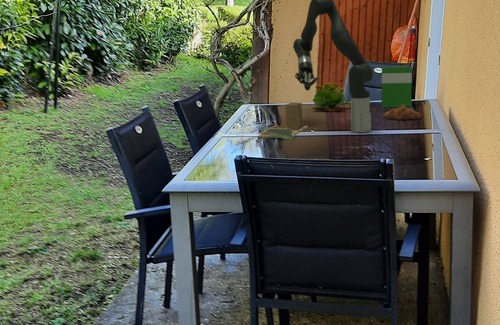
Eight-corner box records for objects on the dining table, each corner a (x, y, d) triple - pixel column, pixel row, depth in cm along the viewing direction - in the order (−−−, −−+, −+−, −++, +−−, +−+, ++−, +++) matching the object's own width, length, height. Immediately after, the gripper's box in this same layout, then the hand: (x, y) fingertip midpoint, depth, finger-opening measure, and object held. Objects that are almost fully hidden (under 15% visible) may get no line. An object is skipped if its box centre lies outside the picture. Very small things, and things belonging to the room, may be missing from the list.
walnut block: (291, 126, 321) (291, 102, 318) (302, 127, 319) (301, 102, 316) (286, 129, 314) (285, 104, 311) (297, 130, 312) (297, 105, 309)
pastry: (394, 122, 326) (394, 107, 324) (381, 118, 340) (381, 104, 338) (422, 119, 330) (423, 105, 328) (408, 115, 344) (408, 101, 343)
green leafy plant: (352, 106, 385) (352, 78, 381) (354, 112, 362) (354, 83, 358) (312, 107, 388) (312, 80, 384) (312, 113, 365) (312, 84, 361)
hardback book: (411, 105, 377) (411, 66, 372) (411, 107, 370) (411, 67, 365) (382, 105, 382) (382, 67, 376) (381, 107, 375) (381, 68, 369)
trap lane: (276, 127, 326) (275, 118, 325) (308, 128, 319) (307, 119, 318) (257, 138, 302) (256, 128, 301) (291, 139, 295) (291, 129, 294)
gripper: (313, 73, 331) (316, 96, 320) (291, 68, 327) (293, 91, 316) (319, 64, 325) (322, 87, 314) (296, 58, 321) (298, 81, 311)
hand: (307, 89), depth 315 cm, fingers closed
